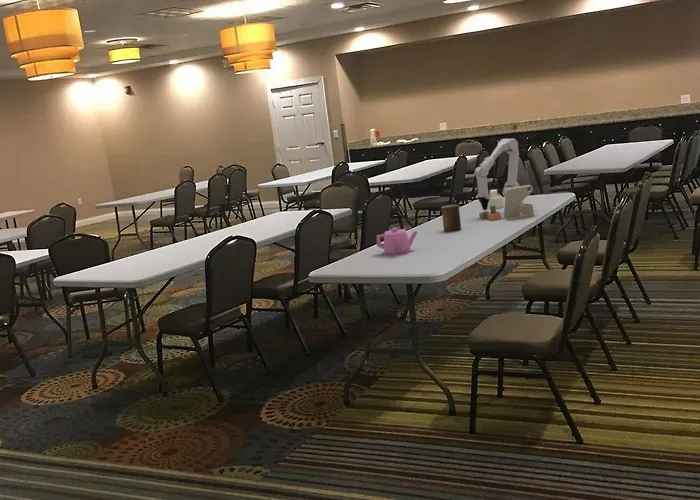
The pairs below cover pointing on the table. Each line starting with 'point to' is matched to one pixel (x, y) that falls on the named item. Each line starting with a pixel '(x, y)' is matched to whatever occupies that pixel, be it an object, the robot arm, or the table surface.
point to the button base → (483, 215)
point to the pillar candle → (451, 218)
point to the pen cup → (494, 216)
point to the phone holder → (517, 203)
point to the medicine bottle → (495, 199)
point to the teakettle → (396, 241)
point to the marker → (493, 208)
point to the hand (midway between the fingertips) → (485, 210)
